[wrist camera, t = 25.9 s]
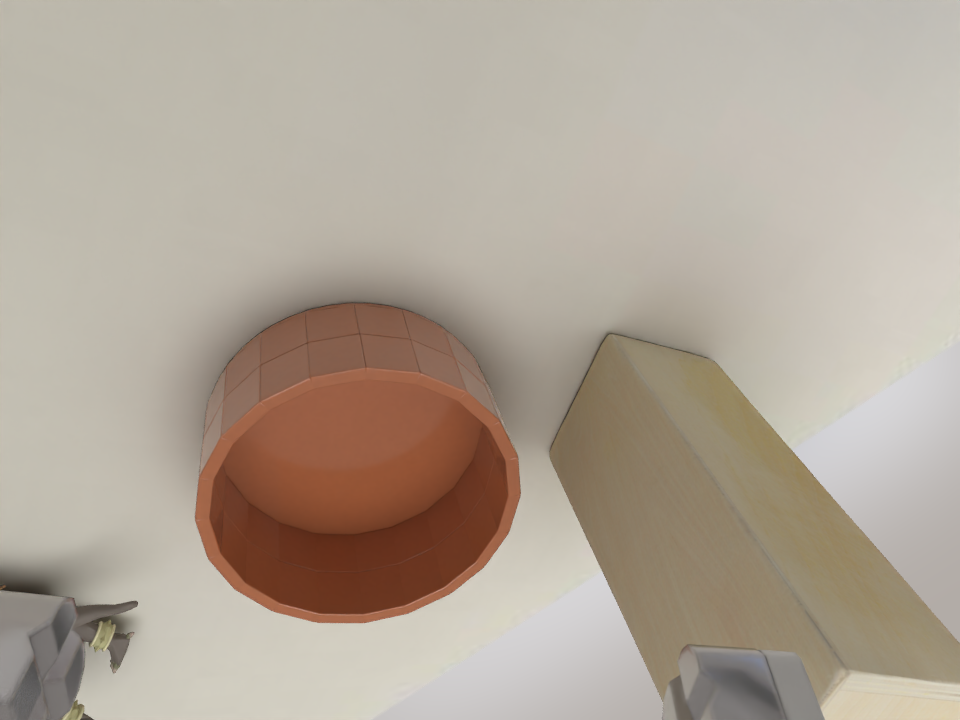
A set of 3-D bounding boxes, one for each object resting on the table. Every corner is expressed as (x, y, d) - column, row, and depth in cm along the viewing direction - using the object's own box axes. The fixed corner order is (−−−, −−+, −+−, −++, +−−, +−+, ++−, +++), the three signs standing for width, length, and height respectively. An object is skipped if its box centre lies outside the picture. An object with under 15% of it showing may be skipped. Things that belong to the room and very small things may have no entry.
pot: (479, 280, 40) (510, 341, 35) (500, 509, 47) (527, 588, 42) (170, 331, 38) (155, 404, 33) (241, 562, 45) (238, 650, 40)
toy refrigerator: (659, 480, 49) (884, 838, 31) (544, 457, 46) (717, 834, 28) (726, 361, 45) (1019, 686, 28) (606, 329, 43) (845, 665, 25)
